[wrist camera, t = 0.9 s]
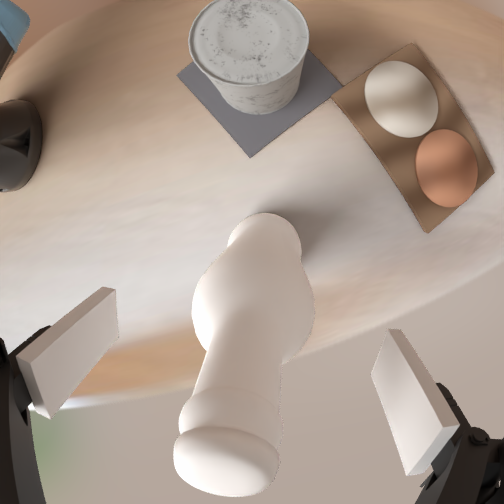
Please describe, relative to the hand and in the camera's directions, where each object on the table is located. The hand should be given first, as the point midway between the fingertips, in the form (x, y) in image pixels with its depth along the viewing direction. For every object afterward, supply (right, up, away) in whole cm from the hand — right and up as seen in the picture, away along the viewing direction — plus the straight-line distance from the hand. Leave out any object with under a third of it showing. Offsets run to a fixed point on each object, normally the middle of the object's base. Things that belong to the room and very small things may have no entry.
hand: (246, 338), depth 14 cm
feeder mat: (+1, +24, +18) cm, 30 cm away
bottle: (+2, +5, +23) cm, 23 cm away
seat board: (+21, +18, +17) cm, 33 cm away
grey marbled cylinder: (+1, +24, +18) cm, 30 cm away
